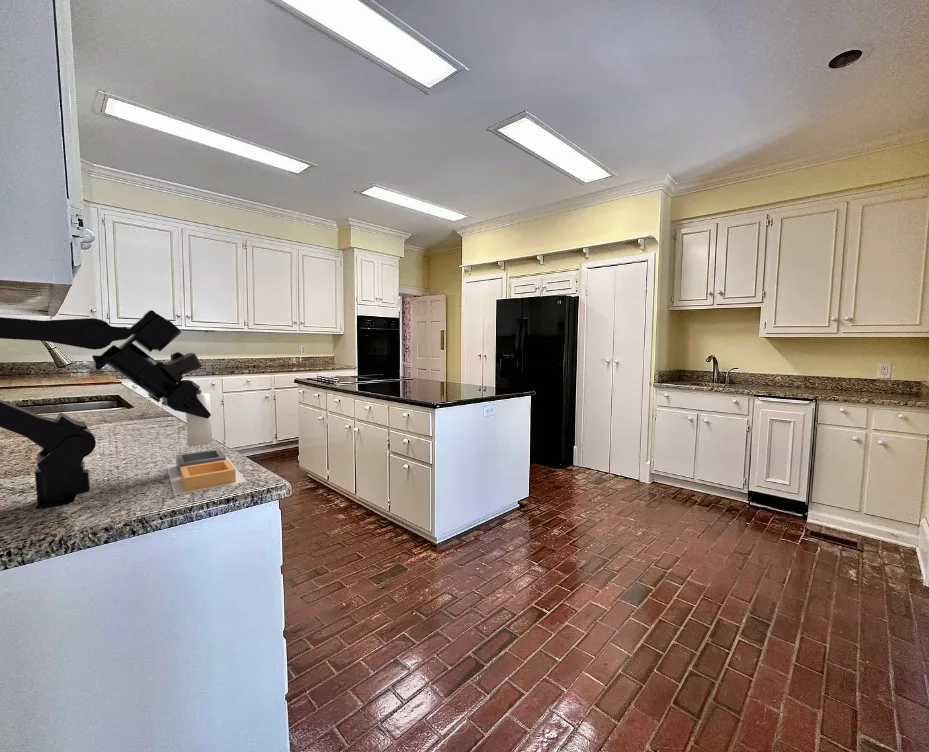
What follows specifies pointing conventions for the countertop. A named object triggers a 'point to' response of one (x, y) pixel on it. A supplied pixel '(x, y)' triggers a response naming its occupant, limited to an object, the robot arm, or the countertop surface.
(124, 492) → the countertop surface
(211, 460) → the dock
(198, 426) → the white bottle
